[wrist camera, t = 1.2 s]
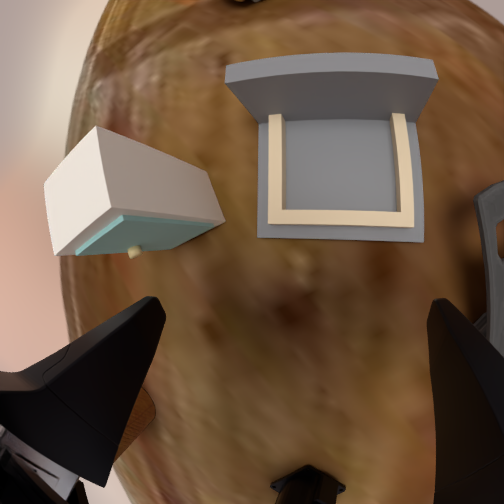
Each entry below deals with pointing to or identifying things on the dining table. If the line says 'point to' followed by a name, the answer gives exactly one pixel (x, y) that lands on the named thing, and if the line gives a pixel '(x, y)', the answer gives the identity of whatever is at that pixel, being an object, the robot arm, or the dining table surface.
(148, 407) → the disposable coffee cup
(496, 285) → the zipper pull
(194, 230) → the white cabinet
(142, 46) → the dining table surface
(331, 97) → the board
